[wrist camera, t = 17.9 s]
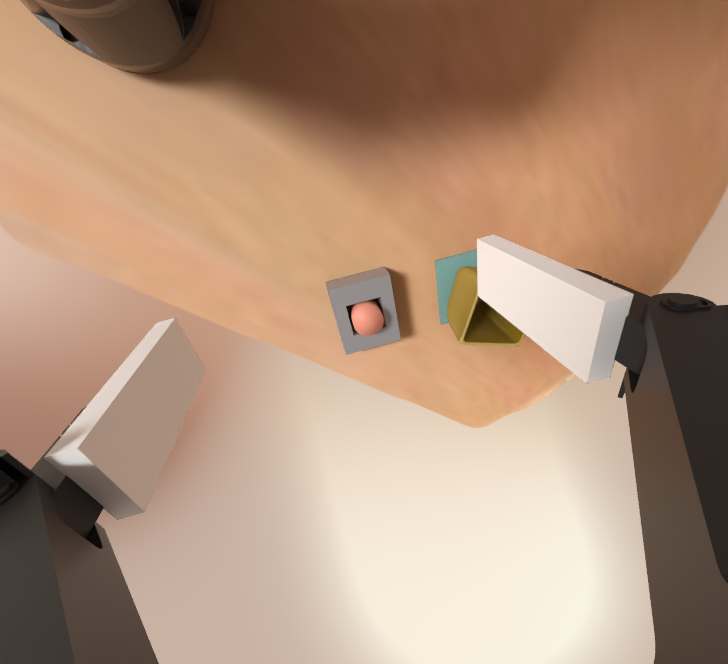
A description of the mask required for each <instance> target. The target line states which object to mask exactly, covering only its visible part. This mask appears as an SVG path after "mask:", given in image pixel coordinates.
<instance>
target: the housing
mask: <svg viewBox="0 0 728 664" xmlns="http://www.w3.org/2000/svg"><path fill="white" fill-rule="evenodd" d="M326 285H327V290H328V294H329V297H330V301H331V304H332V308H333V311H334V314H335V318H336V321H337V325H338V328H339V332H340V335H341V339H342V342H343V346H344V349H345V352H346V355H348V354H351V353H355V352H358V351H362V350H366V349H369V348H373V347H377V346H380V345H384V344H388V343H391V342H395V341H399V340H401V337H400V332H399V326H398V320H397V314H396V308H395V302H394V296H393V290H392V284H391V278H390V274H389V272H388V271H387V270H386V268H385V267H381V268H378V269H374V270H370V271H366V272H362V273H359V274H355V275H351V276H347V277H343V278H339V279H336V280H332V281H328V282H326ZM375 298H378V303H379V308H380V311H381V313H382V314H383V317H384V324H383V327H382V328H381V329H380V331H378V332H377V333H375V334H373V335H369V336H366V335H361V334H359V333H358V332H357V331H356V330H355V328H354V325H351V324H350V320H349V316H348V312H347V308H346V306H349V305H353V304H356V303H360V302H364V301H368V300H371V299H375Z"/></svg>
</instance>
